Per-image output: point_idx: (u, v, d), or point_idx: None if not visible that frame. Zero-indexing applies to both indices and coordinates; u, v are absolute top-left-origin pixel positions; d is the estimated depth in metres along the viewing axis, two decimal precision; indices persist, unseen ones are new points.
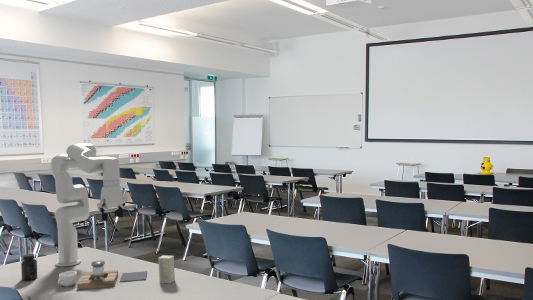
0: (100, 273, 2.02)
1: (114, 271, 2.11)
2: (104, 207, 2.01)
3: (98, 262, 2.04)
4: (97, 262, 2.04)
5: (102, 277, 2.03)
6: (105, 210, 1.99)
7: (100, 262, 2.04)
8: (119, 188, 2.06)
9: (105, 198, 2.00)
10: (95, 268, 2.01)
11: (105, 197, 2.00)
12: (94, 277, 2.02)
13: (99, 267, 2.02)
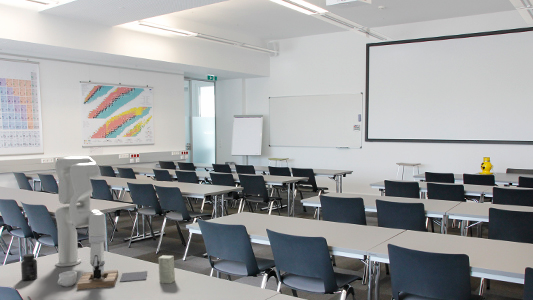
0: None
1: (114, 271, 2.11)
2: None
3: (98, 262, 2.04)
4: None
5: (102, 277, 2.03)
6: (99, 267, 2.01)
7: None
8: (103, 242, 2.07)
9: (98, 254, 1.99)
10: None
11: (98, 253, 1.99)
12: None
13: None
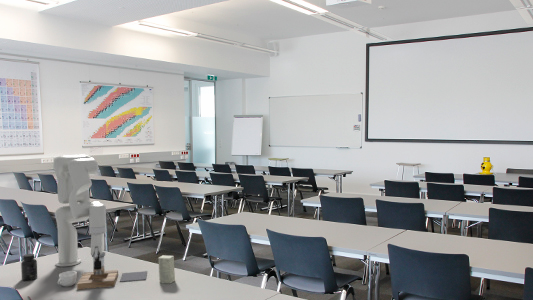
0: None
1: (114, 271, 2.11)
2: None
3: (98, 253, 2.04)
4: None
5: (102, 268, 2.03)
6: (100, 259, 2.01)
7: None
8: None
9: (98, 245, 1.99)
10: None
11: (98, 244, 1.99)
12: None
13: None
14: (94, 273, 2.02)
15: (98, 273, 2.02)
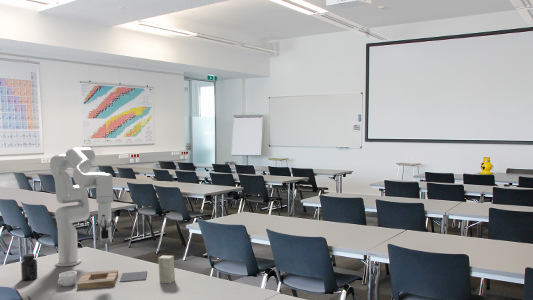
0: None
1: (114, 271, 2.11)
2: None
3: None
4: None
5: (109, 238, 2.04)
6: (107, 227, 2.01)
7: None
8: None
9: (105, 214, 2.00)
10: None
11: (105, 213, 2.00)
12: None
13: None
14: (101, 242, 2.03)
15: (105, 242, 2.02)
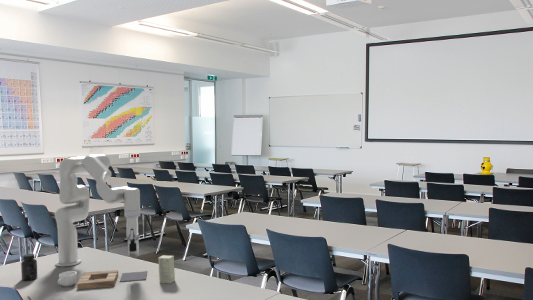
0: None
1: (114, 271, 2.11)
2: None
3: (133, 236, 2.10)
4: None
5: (137, 250, 2.09)
6: (135, 241, 2.07)
7: None
8: None
9: (134, 228, 2.05)
10: None
11: (134, 227, 2.05)
12: None
13: None
14: (129, 255, 2.08)
15: (133, 255, 2.08)
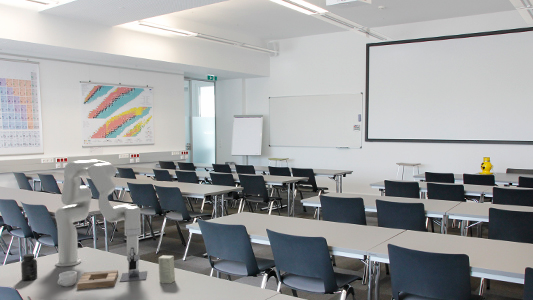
0: None
1: (114, 271, 2.11)
2: None
3: None
4: None
5: (137, 271, 2.10)
6: (135, 259, 2.05)
7: None
8: None
9: (134, 247, 2.05)
10: None
11: (134, 246, 2.05)
12: (130, 271, 2.08)
13: None
14: (129, 276, 2.09)
15: (133, 276, 2.08)
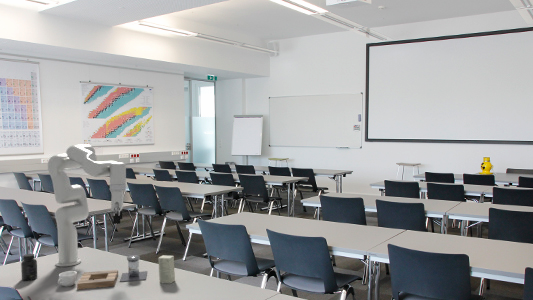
0: (135, 267, 2.09)
1: (114, 271, 2.11)
2: None
3: (133, 257, 2.10)
4: (132, 257, 2.10)
5: (137, 271, 2.10)
6: (119, 213, 2.07)
7: (135, 257, 2.10)
8: None
9: (119, 202, 2.07)
10: (131, 263, 2.08)
11: (119, 201, 2.07)
12: (130, 271, 2.08)
13: (134, 261, 2.08)
14: (129, 276, 2.09)
15: (133, 276, 2.08)
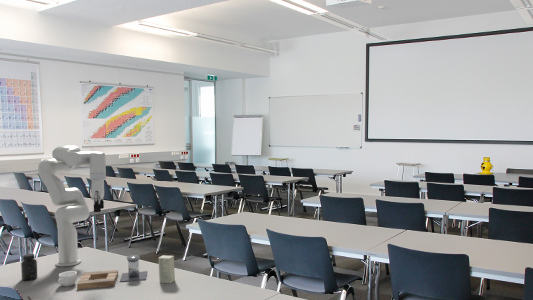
0: (135, 267, 2.09)
1: (114, 271, 2.11)
2: None
3: (133, 257, 2.10)
4: (132, 257, 2.10)
5: (137, 271, 2.10)
6: (99, 201, 2.10)
7: (135, 257, 2.10)
8: None
9: (98, 190, 2.10)
10: (131, 263, 2.08)
11: (98, 189, 2.10)
12: (130, 271, 2.08)
13: (134, 261, 2.08)
14: (129, 276, 2.09)
15: (133, 276, 2.08)
